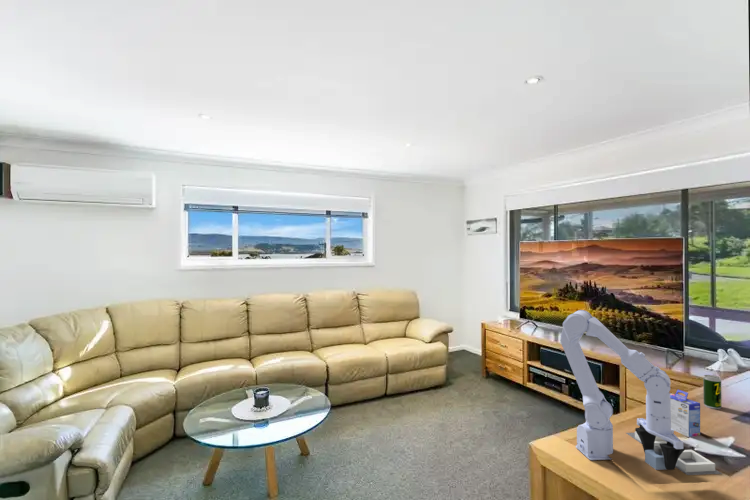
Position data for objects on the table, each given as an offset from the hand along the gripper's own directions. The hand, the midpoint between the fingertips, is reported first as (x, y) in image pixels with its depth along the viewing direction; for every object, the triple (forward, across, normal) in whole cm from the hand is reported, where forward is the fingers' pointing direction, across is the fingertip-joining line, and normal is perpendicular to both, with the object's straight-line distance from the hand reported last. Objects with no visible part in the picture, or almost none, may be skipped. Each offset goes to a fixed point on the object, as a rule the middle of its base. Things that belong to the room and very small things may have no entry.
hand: (659, 461), depth 109 cm
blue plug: (+3, 0, 0) cm, 3 cm away
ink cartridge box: (+3, +20, -24) cm, 31 cm away
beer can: (+3, +40, -55) cm, 68 cm away
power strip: (+3, +7, -9) cm, 12 cm away
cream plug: (+1, +12, -9) cm, 15 cm away
